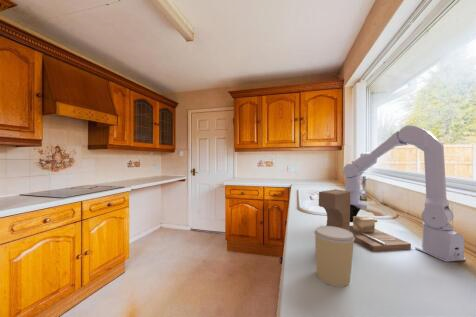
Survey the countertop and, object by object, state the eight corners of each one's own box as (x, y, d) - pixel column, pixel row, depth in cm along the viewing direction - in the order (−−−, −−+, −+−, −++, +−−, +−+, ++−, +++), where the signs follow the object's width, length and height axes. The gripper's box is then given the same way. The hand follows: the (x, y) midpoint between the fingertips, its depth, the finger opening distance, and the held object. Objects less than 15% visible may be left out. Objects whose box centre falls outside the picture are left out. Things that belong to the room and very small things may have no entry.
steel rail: (386, 245, 70) (386, 243, 70) (383, 245, 70) (383, 243, 70) (345, 225, 90) (345, 224, 90) (343, 225, 89) (343, 224, 89)
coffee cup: (340, 267, 58) (341, 225, 58) (361, 289, 49) (363, 238, 49) (308, 267, 58) (309, 225, 58) (323, 289, 48) (324, 238, 48)
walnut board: (410, 248, 72) (410, 243, 72) (373, 251, 69) (373, 245, 69) (365, 229, 91) (365, 224, 91) (335, 230, 89) (335, 226, 89)
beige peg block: (380, 231, 83) (381, 219, 83) (361, 232, 82) (361, 219, 82) (371, 227, 88) (371, 215, 88) (352, 228, 86) (353, 216, 86)
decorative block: (333, 259, 63) (334, 194, 63) (316, 252, 68) (317, 191, 68) (350, 250, 70) (351, 191, 70) (333, 244, 74) (335, 189, 74)
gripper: (373, 194, 85) (372, 226, 85) (348, 188, 99) (348, 216, 99) (358, 194, 83) (357, 227, 83) (335, 188, 98) (334, 217, 98)
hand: (351, 221), depth 91 cm, fingers closed
